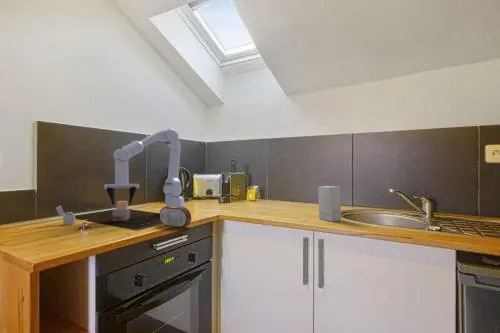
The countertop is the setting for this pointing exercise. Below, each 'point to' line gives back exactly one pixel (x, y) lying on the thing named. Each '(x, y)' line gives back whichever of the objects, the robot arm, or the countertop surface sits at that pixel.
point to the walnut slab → (121, 218)
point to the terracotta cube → (121, 205)
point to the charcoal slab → (121, 213)
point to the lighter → (66, 216)
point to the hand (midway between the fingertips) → (122, 203)
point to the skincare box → (329, 203)
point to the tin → (175, 216)
